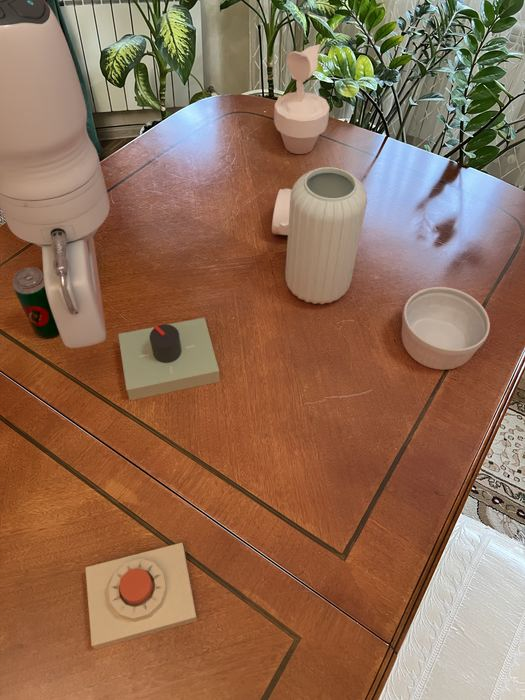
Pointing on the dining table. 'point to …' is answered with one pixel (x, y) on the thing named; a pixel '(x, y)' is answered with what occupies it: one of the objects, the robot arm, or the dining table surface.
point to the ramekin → (443, 327)
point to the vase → (324, 234)
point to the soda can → (35, 301)
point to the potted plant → (301, 105)
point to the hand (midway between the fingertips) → (90, 304)
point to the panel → (180, 374)
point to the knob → (165, 343)
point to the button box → (150, 616)
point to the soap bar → (281, 212)
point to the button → (136, 586)
